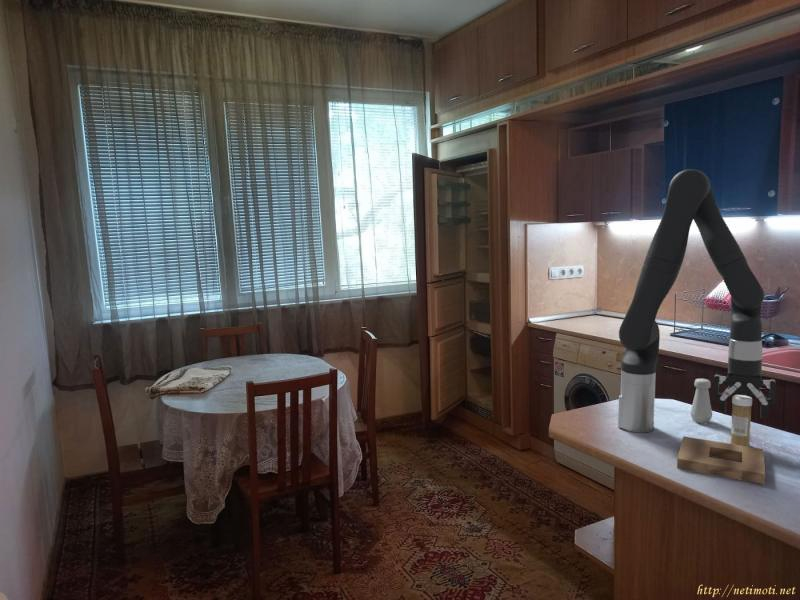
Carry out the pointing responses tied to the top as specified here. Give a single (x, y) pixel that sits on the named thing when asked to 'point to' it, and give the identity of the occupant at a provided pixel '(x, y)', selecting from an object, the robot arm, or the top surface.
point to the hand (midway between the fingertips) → (742, 415)
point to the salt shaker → (701, 402)
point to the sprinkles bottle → (741, 420)
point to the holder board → (698, 459)
